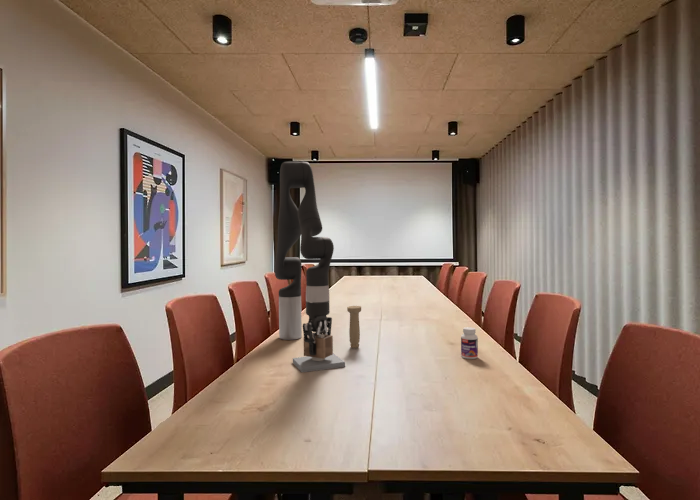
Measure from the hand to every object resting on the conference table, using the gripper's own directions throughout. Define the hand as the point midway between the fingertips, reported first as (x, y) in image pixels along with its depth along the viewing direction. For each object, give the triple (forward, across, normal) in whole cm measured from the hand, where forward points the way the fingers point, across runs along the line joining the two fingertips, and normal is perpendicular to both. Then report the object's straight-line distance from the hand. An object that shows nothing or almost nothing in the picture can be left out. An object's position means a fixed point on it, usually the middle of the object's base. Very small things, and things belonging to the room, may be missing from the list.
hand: (318, 352), depth 130 cm
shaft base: (+4, 0, 0) cm, 4 cm away
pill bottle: (+4, -30, +41) cm, 51 cm away
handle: (+4, -24, 0) cm, 25 cm away
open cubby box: (+1, 0, 0) cm, 1 cm away
